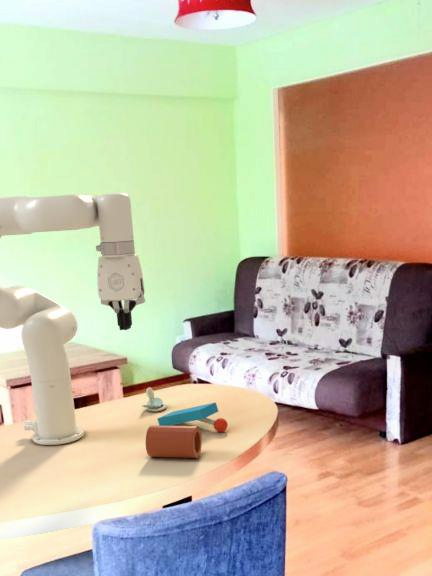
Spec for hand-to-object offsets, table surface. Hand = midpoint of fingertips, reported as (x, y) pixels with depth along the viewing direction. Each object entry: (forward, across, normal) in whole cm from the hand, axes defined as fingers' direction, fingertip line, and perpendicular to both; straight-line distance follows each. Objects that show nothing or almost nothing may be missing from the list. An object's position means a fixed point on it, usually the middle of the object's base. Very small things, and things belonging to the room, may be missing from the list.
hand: (125, 328), depth 173 cm
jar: (+23, +9, -12) cm, 28 cm away
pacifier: (+27, -4, +24) cm, 37 cm away
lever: (+27, +13, +9) cm, 31 cm away
